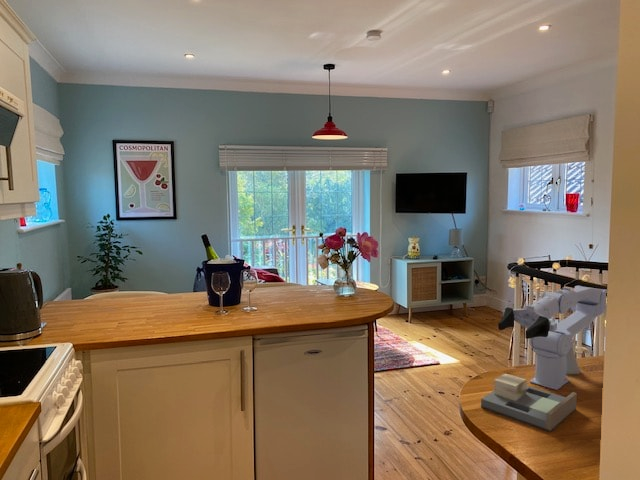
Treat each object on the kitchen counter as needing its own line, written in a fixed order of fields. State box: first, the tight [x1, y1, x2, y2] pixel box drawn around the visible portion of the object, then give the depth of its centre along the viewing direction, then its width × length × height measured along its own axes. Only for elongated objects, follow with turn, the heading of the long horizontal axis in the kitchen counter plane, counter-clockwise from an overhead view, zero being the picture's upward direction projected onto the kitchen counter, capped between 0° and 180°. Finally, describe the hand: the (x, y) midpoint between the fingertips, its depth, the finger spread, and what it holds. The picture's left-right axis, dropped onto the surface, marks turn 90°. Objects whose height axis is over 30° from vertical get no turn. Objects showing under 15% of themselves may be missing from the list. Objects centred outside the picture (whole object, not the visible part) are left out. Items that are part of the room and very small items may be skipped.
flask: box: [565, 339, 581, 375], centre depth 149 cm, size 7×7×10 cm
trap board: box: [480, 385, 578, 433], centre depth 126 cm, size 16×18×4 cm
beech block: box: [493, 373, 527, 401], centre depth 129 cm, size 6×6×4 cm
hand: (512, 330), depth 127 cm, fingers open, 7 cm apart
